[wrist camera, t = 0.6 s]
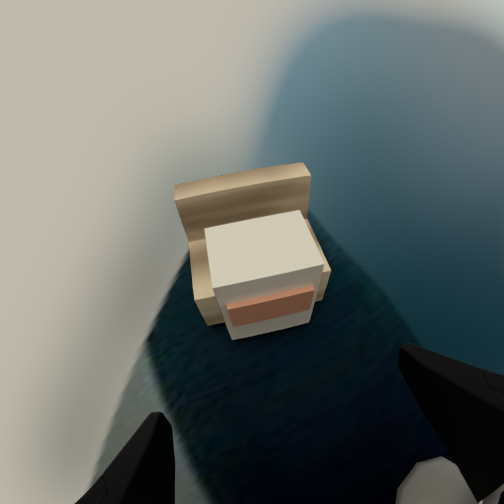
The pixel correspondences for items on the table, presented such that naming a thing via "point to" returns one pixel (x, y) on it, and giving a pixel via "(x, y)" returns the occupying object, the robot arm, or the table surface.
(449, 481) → the flask
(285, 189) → the beige toy armchair
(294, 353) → the table surface
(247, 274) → the white box
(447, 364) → the robot arm
